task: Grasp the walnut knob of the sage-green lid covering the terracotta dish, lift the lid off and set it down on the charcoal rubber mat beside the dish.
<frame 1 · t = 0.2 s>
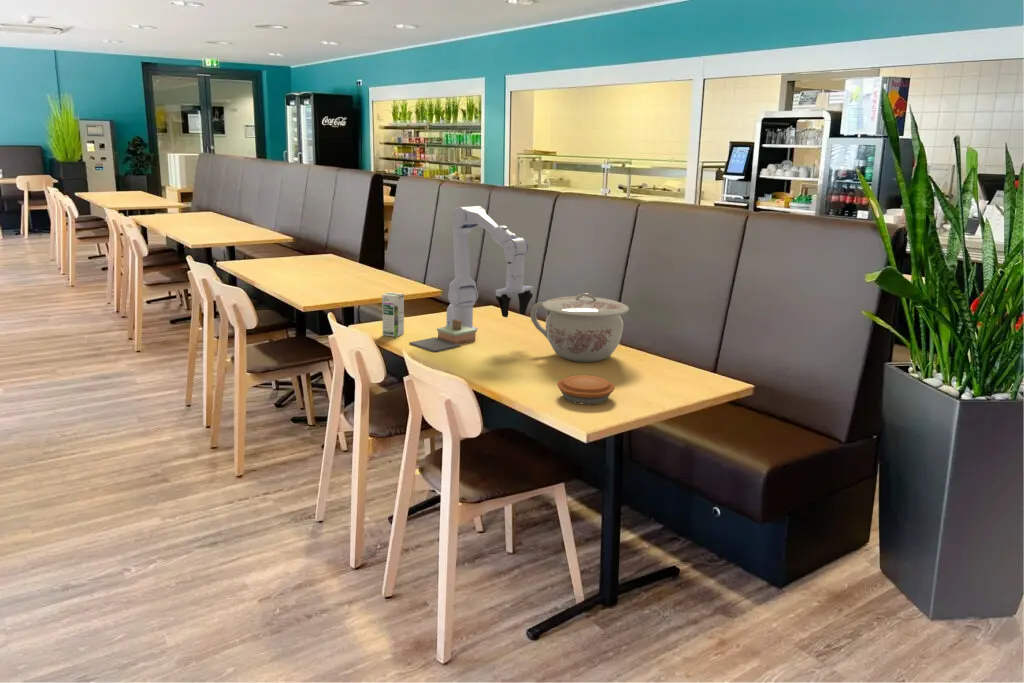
hand: (513, 315, 258), 10 cm above the table, tool pointing down, fingers open, 7 cm apart
lid: (456, 331, 264), point 3 cm above the table, touching dish
syrup box: (393, 335, 269), on the table
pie: (585, 398, 209), on the table
dish: (456, 339, 265), on the table
mat: (434, 345, 257), on the table
chamber pot: (582, 357, 249), on the table
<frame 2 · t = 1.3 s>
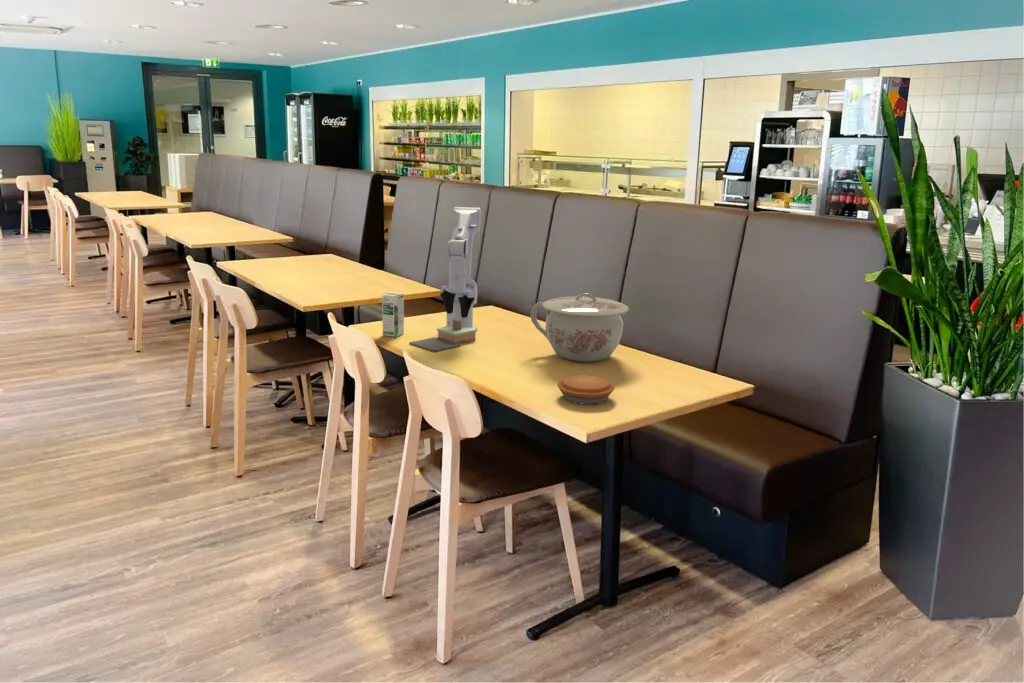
hand: (456, 315, 262), 9 cm above the table, tool pointing down, fingers open, 7 cm apart
nothing on the table moved.
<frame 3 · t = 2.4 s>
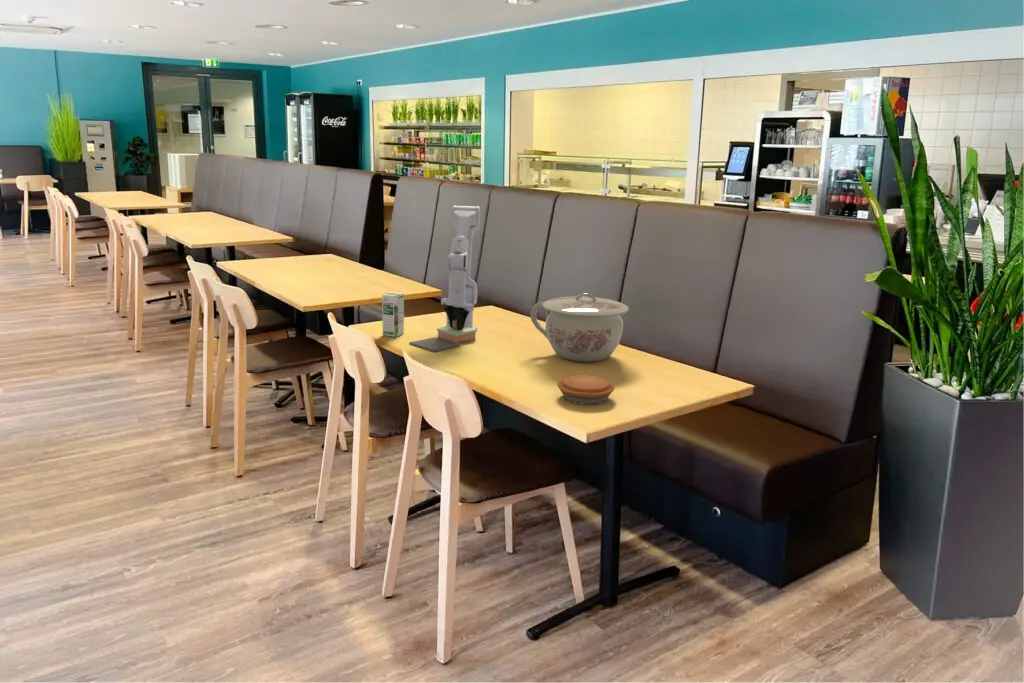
hand: (456, 328, 263), 4 cm above the table, tool pointing down, fingers closed on lid, 3 cm apart
lid: (456, 331, 264), point 3 cm above the table, touching dish, gripper
everything else where it was.
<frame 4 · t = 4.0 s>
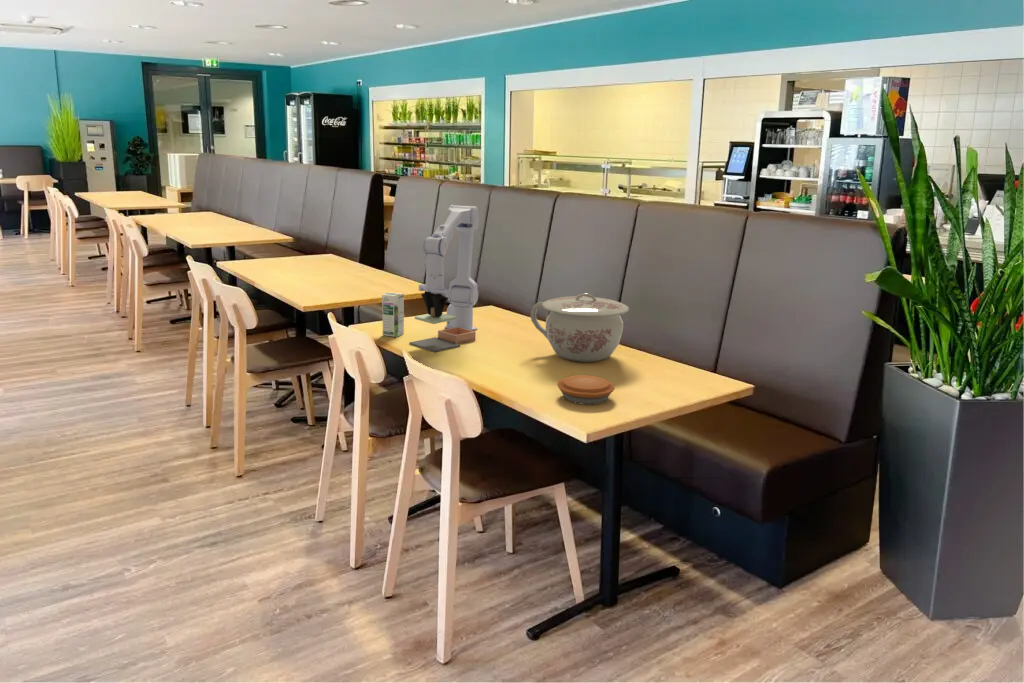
hand: (434, 315, 254), 10 cm above the table, tool pointing down, fingers closed on lid, 3 cm apart
lid: (435, 319, 254), point 9 cm above the table, touching gripper
everything else where it was.
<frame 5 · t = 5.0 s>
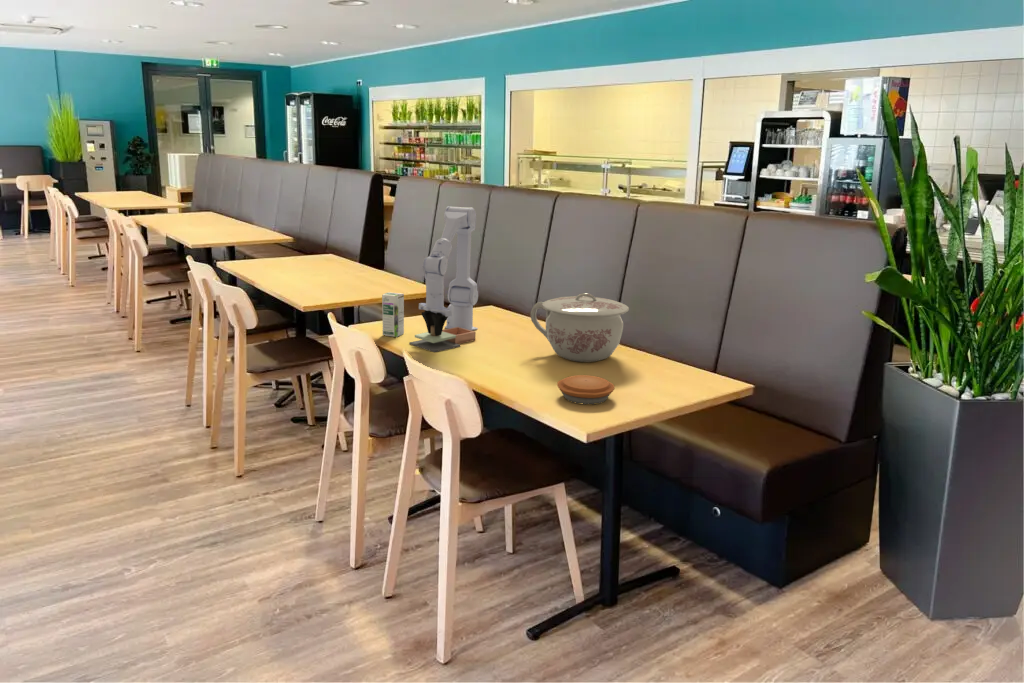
hand: (434, 334, 256), 4 cm above the table, tool pointing down, fingers closed on lid, 3 cm apart
lid: (435, 337, 256), point 3 cm above the table, touching gripper
everything else where it was.
when the fingers open (3 cm above the table, at t = 5.5 s): lid drops 1 cm, resting on mat.
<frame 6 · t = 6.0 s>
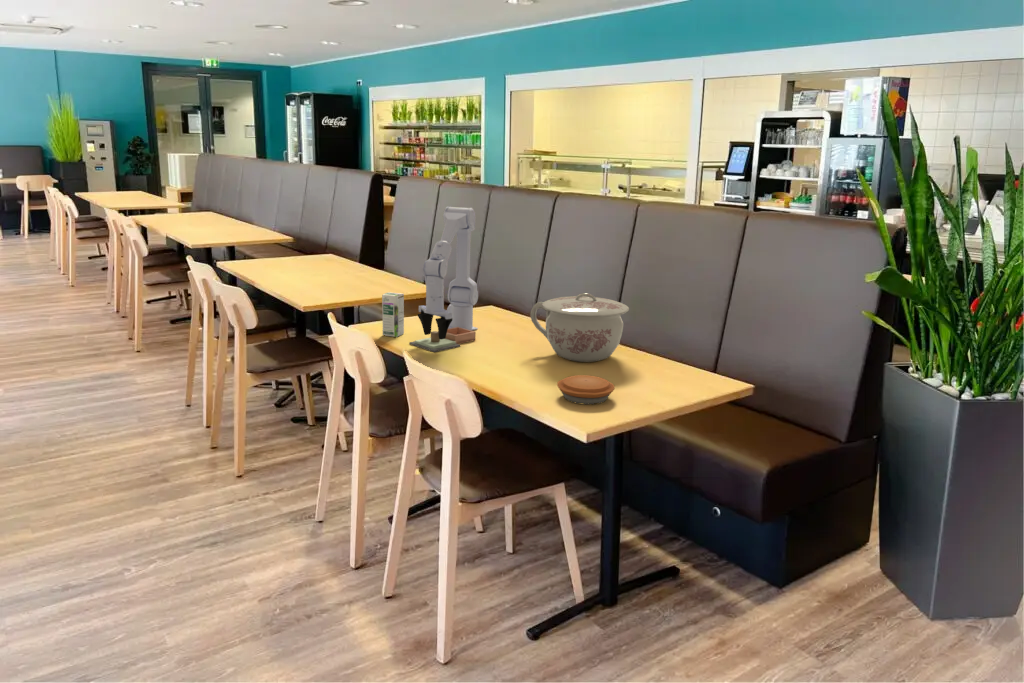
hand: (434, 336, 256), 3 cm above the table, tool pointing down, fingers open, 7 cm apart
lid: (435, 343, 257), point 1 cm above the table, touching mat
everything else where it was.
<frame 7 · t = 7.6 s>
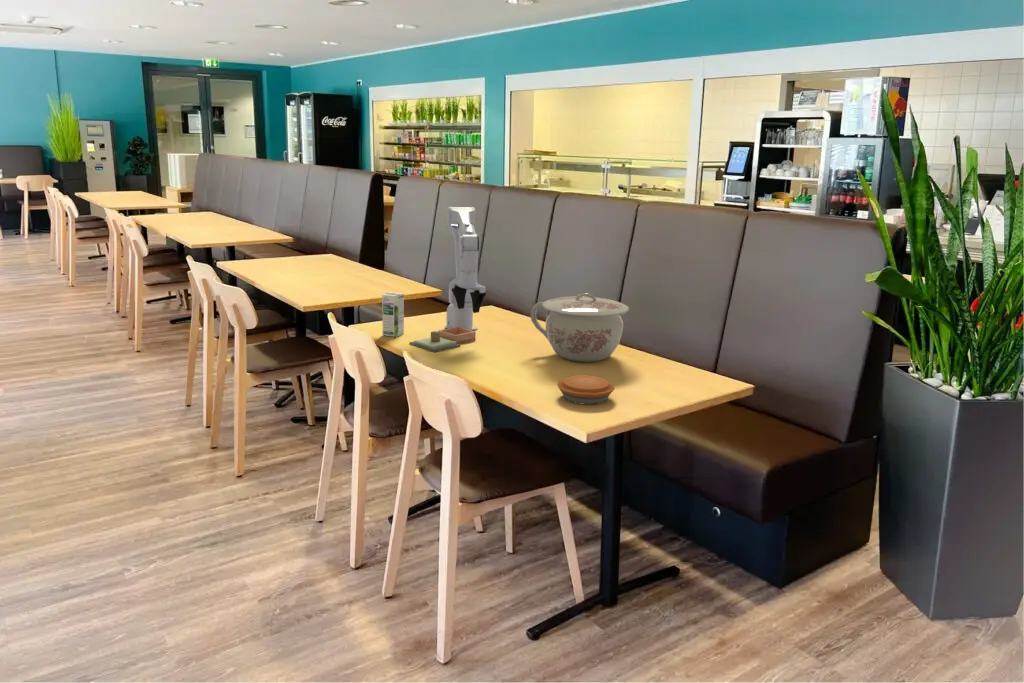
hand: (468, 310, 262), 10 cm above the table, tool pointing down, fingers open, 7 cm apart
nothing on the table moved.
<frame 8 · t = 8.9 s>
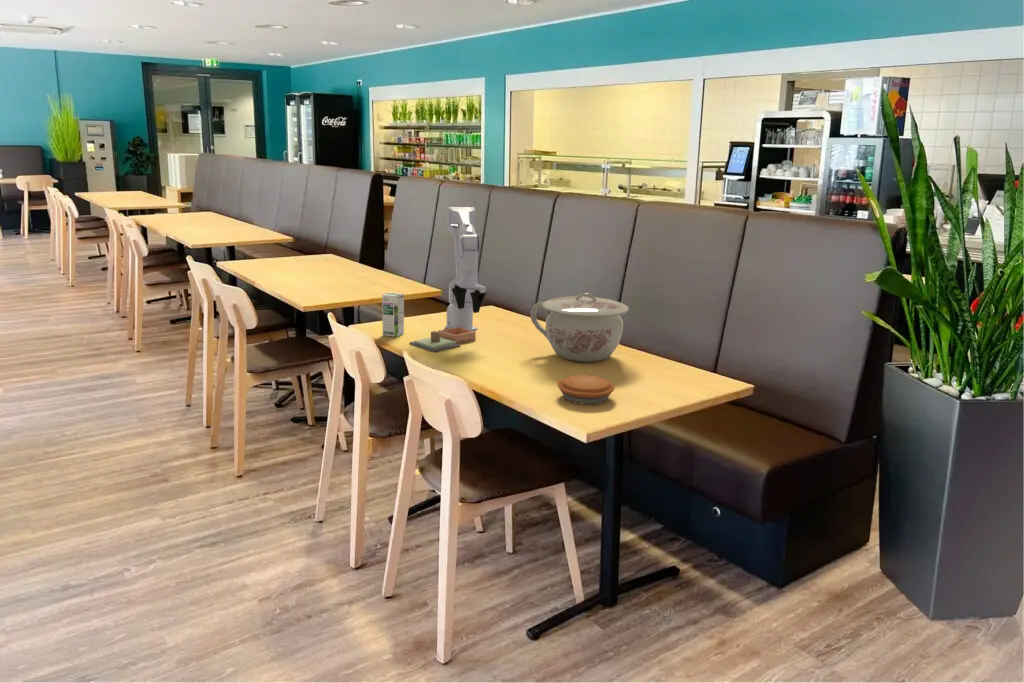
hand: (468, 310, 262), 10 cm above the table, tool pointing down, fingers open, 7 cm apart
nothing on the table moved.
at the end: lid inside the target area on the mat (0.2 cm from its centre), point 0.6 cm above the mat's base; lid touching mat; lid tilted 0° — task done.
